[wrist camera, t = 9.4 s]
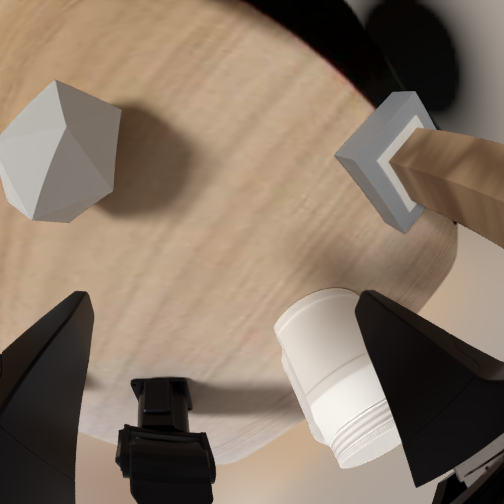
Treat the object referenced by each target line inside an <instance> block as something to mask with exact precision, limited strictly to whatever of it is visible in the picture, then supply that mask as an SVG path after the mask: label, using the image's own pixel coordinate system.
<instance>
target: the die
mask: <svg viewBox="0 0 504 504" xmlns="http://www.w3.org/2000/svg"><path fill="white" fill-rule="evenodd" d="M121 112H122V110H121V109H119V108H117V107H115V106H113V105H111V104H109V103H107V102H104V101H102V100H100V99H98V98H96V97H94V96H92V95H89V94H87V93H85V92H83V91H81V90H78V89H76V88H74V87H72V86H69V85H67V84H65V83H62V82H60V81H58V80H54V81H53V82H52V83H50V84H49V85H48V86H47V87H46V88H45V89H44V90H43V91H42V92H41V93H39V94H38V95H37V96H36V97H35V98H34V99H33V100H32V101H31V102H30V103H29V104H28V105H27V106H26V107H25V108H24V109H23V110H22V111H21V112H20V114H19V115H18V116H17V117H16V118H15V119H14V120H13V121H12V122H11V123H10V125H9V126H8V127H7V128H6V129H5V130H4V132H3V133H2V134H1V135H0V176H1V180H2V184H3V187H4V191H5V194H6V198H7V201H8V202H9V203H10V204H12V205H13V206H14V207H15V208H17V209H18V210H19V211H21V212H22V213H23V214H24V215H26V216H27V217H28V218H30V219H31V220H35V221H49V222H62V223H70V222H71V221H72V220H73V219H75V218H76V217H77V216H79V215H80V214H81V213H83V212H84V211H85V210H87V209H88V208H90V207H91V206H92V205H94V204H95V203H96V202H98V201H99V200H101V199H102V198H104V197H105V196H106V195H108V194H109V193H111V192H112V191H113V187H114V172H115V159H116V149H117V140H118V132H119V125H120V118H121Z"/></svg>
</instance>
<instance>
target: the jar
mask: <svg viewBox="0 0 504 504" xmlns="http://www.w3.org/2000/svg"><path fill="white" fill-rule="evenodd" d="M359 298H360V297H359V296H358V295H357V294H355V293H354V292H352V291H350V290H347V289H342V288H329V289H324V290H320V291H317V292H314V293H312V294H309V295H307V296H305V297H303V298H302V299H300V300H299V301H297V302H296V303H294V304H293V305H292V306H290V307H289V308H288V309H287V310H286V311H285V312H284V313H283V314H282V315H281V317H280V318H279V319H278V321H277V322H276V324H275V325H274V330H275V334H276V336H277V339H278V341H279V342H280V344H281V346H282V358H281V361H282V365H283V368H284V370H285V372H286V373H287V375H288V378H289V380H290V382H291V385H292V387H293V390H294V392H295V394H296V397H297V399H298V401H299V404H300V406H301V408H302V411H303V413H304V415H305V418H306V420H307V422H308V425H309V429H310V431H311V433H312V436H313V437H314V438H315V440H316V441H318V442H321V443H323V444H325V445H328V446H330V447H331V448H332V451H333V452H334V453H335V457H336V458H337V460H338V463H339V465H340V467H341V468H344V469H346V468H352V467H356V466H359V465H362V464H364V463H366V462H369V461H371V460H373V459H375V458H377V457H379V456H381V455H383V454H384V453H386V452H388V451H390V450H391V449H393V448H394V447H396V446H397V445H399V444H400V443H402V442H401V439H400V436H399V433H398V430H397V427H396V425H395V422H394V419H393V416H392V413H391V411H390V408H389V405H388V403H387V400H386V397H385V395H384V392H383V390H382V387H381V385H380V382H379V379H378V377H377V375H376V372H375V370H374V367H373V365H372V362H371V360H370V358H369V355H368V353H367V350H366V347H365V344H364V341H363V338H362V335H361V332H360V329H359V326H358V323H357V319H356V317H355V307H356V305H357V302H358V300H359Z"/></svg>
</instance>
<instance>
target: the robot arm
mask: <svg viewBox="0 0 504 504" xmlns="http://www.w3.org/2000/svg"><path fill="white" fill-rule="evenodd" d="M355 317H356V319H357V323H358V326H359V329H360V332H361V335H362V338H363V341H364V344H365V347H366V350H367V353H368V355H369V358H370V360H371V362H372V365H373V367H374V370H375V372H376V375H377V377H378V379H379V382H380V385H381V387H382V390H383V392H384V395H385V397H386V400H387V403H388V405H389V408H390V411H391V413H392V416H393V419H394V422H395V425H396V427H397V430H398V433H399V436H400V439H401V442H402V445H403V448H404V452H405V455H406V457H407V461H408V464H409V467H410V471H411V474H412V478H413V481H414V484H415V486H416V488H417V487H419V486H422V485H424V484H426V483H428V482H430V481H431V480H433V479H435V478H437V477H439V476H441V475H443V474H444V473H446V472H448V471H450V470H451V469H453V470H454V472H452V473H451V474H450V475H448V476H447V477H446V478H445V479H443V480H442V481H441V482H439V483H438V485H437V489H436V492H435V496H434V499H433V502H432V504H504V362H502V361H499V360H497V359H495V358H494V357H491V356H490V355H488V354H486V353H484V352H482V351H480V350H478V349H476V348H474V347H472V346H471V345H469V344H467V343H465V342H464V341H462V340H460V339H458V338H457V337H455V336H453V335H452V334H449V333H448V332H446V331H445V330H443V329H441V328H440V327H438V326H436V325H434V324H432V323H431V322H429V321H428V320H426V319H424V318H422V317H421V316H419V315H417V314H415V313H414V312H412V311H410V310H408V309H407V308H405V307H403V306H401V305H400V304H398V303H396V302H394V301H393V300H391V299H389V298H387V297H385V296H384V295H382V294H380V293H378V292H376V291H375V290H365V291H363V292H362V293H361V295H360V298H359V300H358V302H357V305H356V307H355ZM93 324H94V311H93V307H92V304H91V300H90V297H89V294H88V293H87V292H86V291H75V292H73V293H72V294H71V295H69V296H68V297H67V298H66V299H64V300H63V301H62V302H60V303H59V304H58V305H57V306H55V307H54V308H53V309H52V310H50V311H49V312H48V313H47V314H46V315H44V316H43V317H42V318H41V319H39V320H38V321H37V322H36V323H35V324H34V325H32V326H31V327H30V328H29V329H28V330H26V331H25V332H24V333H23V334H22V335H21V336H20V337H18V338H17V339H16V340H15V341H14V342H13V343H12V344H10V345H9V346H8V347H7V348H6V349H5V350H4V351H3V352H2V354H0V504H75V463H76V445H77V435H78V425H79V417H80V409H81V403H82V396H83V390H84V384H85V379H86V374H87V369H88V363H89V356H90V347H91V339H92V331H93ZM130 384H131V387H132V389H133V391H134V393H135V396H136V398H137V400H138V402H139V405H138V427H135V426H130V425H128V424H124V429H122V430H119V436H118V446H117V452H116V458H115V459H116V460H115V461H116V463H117V464H118V466H119V467H120V468H121V471H122V473H123V477H124V478H129V479H130V490H131V494H132V496H133V497H134V499H135V500H136V502H137V503H138V504H212V502H213V494H212V485H211V484H213V483H214V482H215V478H216V467H215V461H214V457H213V454H212V451H211V448H210V445H209V441H208V438H207V435H206V432H201V433H191V432H190V431H189V421H188V411H190V410H192V409H193V408H192V403H191V398H190V394H189V390H188V386H187V381H186V379H183V378H178V379H150V380H131V383H130Z"/></svg>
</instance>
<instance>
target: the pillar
mask: <svg viewBox="0 0 504 504" xmlns="http://www.w3.org/2000/svg"><path fill="white" fill-rule="evenodd" d="M389 164H390V166H391V167H392V169H393V170H394V172H395V174H396V175H397V177H398V178H399V180H400V182H401V183H402V185H403V187H404V189H405V190H406V192H407V194H408V196H409V197H410V199H411V201H413V202H416V203H418V204H420V205H422V206H424V207H427V208H429V209H431V210H433V211H435V212H437V213H439V214H441V215H443V216H445V217H447V218H449V219H451V220H453V221H455V222H457V223H459V224H461V225H463V226H465V227H467V228H469V229H470V230H472V231H474V232H476V233H478V234H479V235H481V236H483V237H485V238H487V239H488V240H490V241H492V242H493V243H495V244H497V245H498V246H500V247H502V248H503V249H504V144H500V143H496V142H493V141H489V140H485V139H481V138H476V137H471V136H466V135H461V134H457V133H451V132H445V131H439V130H433V129H426V128H418V127H417V128H416V129H415V130H414V132H413V133H412V134H411V135H410V136H409V138H408V139H407V140H406V141H405V143H404V144H403V145H402V146H401V147H400V149H399V150H398V151H397V152H396V153H395V154H394V156H393V157H392V158H391V159H390V160H389Z"/></svg>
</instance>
